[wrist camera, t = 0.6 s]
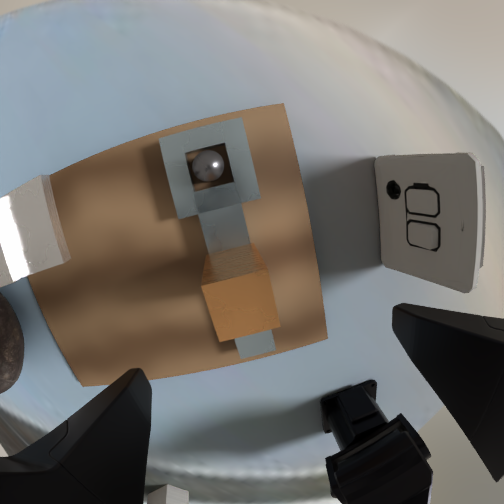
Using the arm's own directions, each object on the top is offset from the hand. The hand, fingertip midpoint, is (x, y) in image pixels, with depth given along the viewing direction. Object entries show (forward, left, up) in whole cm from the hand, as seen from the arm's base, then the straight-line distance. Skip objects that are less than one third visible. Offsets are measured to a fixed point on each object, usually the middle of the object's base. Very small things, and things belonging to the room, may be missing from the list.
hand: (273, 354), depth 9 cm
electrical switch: (+1, -14, -13) cm, 19 cm away
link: (+1, +1, -11) cm, 12 cm away
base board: (+1, +7, -13) cm, 15 cm away
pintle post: (+7, +1, -13) cm, 14 cm away
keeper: (+7, +15, -12) cm, 20 cm away
